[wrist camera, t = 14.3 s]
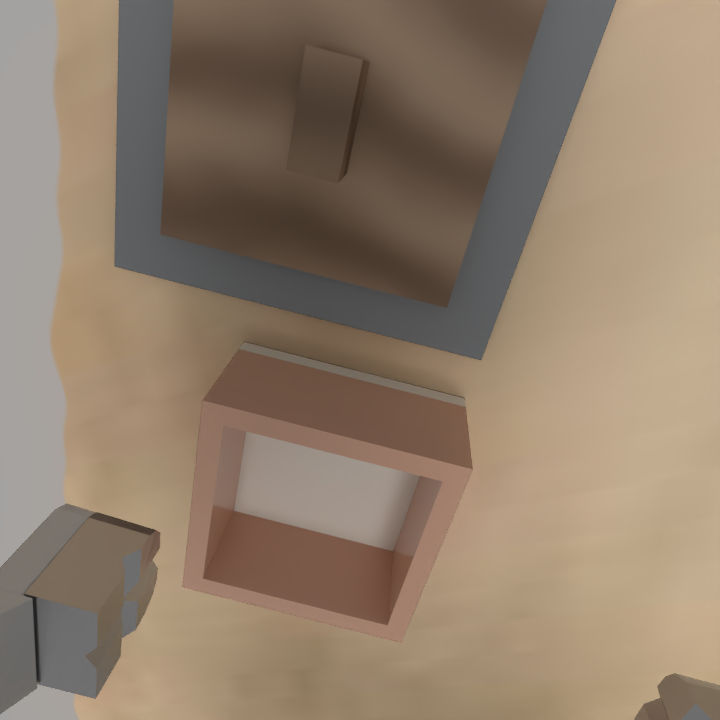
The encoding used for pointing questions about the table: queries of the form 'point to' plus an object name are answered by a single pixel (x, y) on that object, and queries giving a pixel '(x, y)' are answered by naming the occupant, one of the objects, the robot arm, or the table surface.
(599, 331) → the table surface
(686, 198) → the table surface
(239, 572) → the salmon open box
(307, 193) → the walnut lid
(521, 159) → the rubber mat
